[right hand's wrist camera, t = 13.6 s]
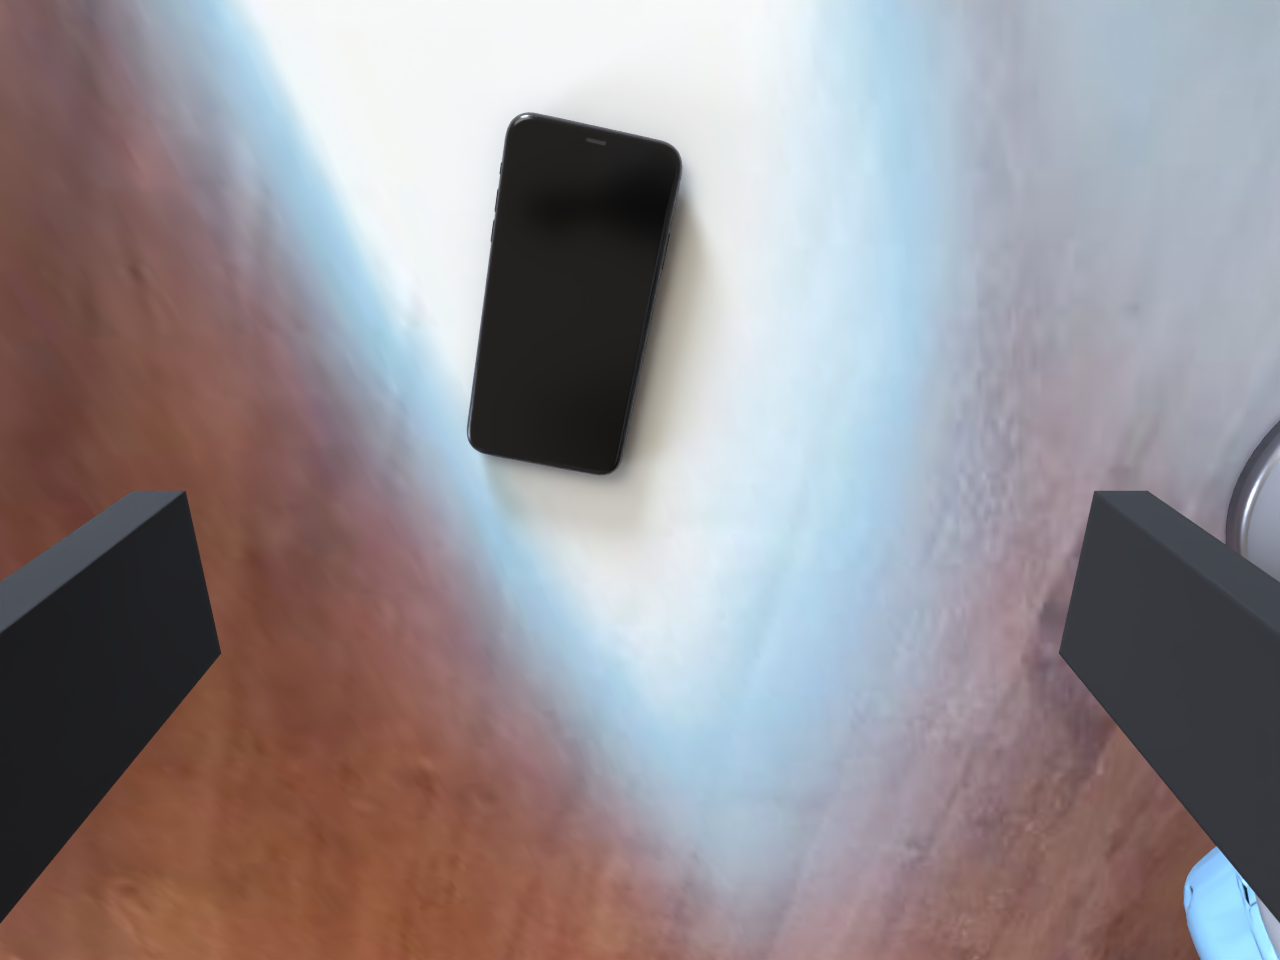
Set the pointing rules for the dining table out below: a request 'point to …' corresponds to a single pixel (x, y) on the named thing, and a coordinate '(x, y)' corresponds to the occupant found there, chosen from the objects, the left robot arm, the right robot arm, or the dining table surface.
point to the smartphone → (570, 291)
